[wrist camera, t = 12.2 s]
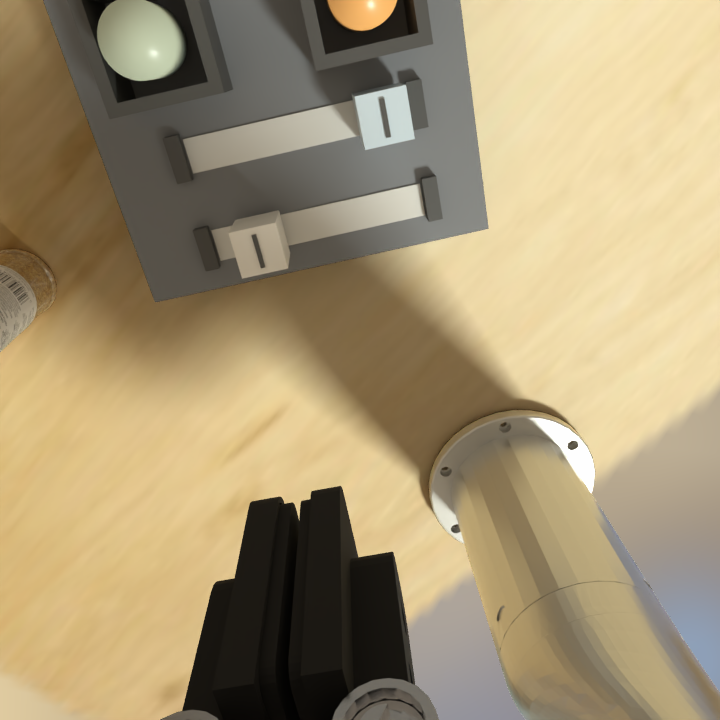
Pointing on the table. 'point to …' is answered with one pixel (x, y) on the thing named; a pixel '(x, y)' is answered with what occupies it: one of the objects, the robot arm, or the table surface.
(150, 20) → the button green
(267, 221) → the slider white
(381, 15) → the button orange
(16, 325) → the sprinkles bottle
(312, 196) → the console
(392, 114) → the slider blue
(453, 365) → the table surface
